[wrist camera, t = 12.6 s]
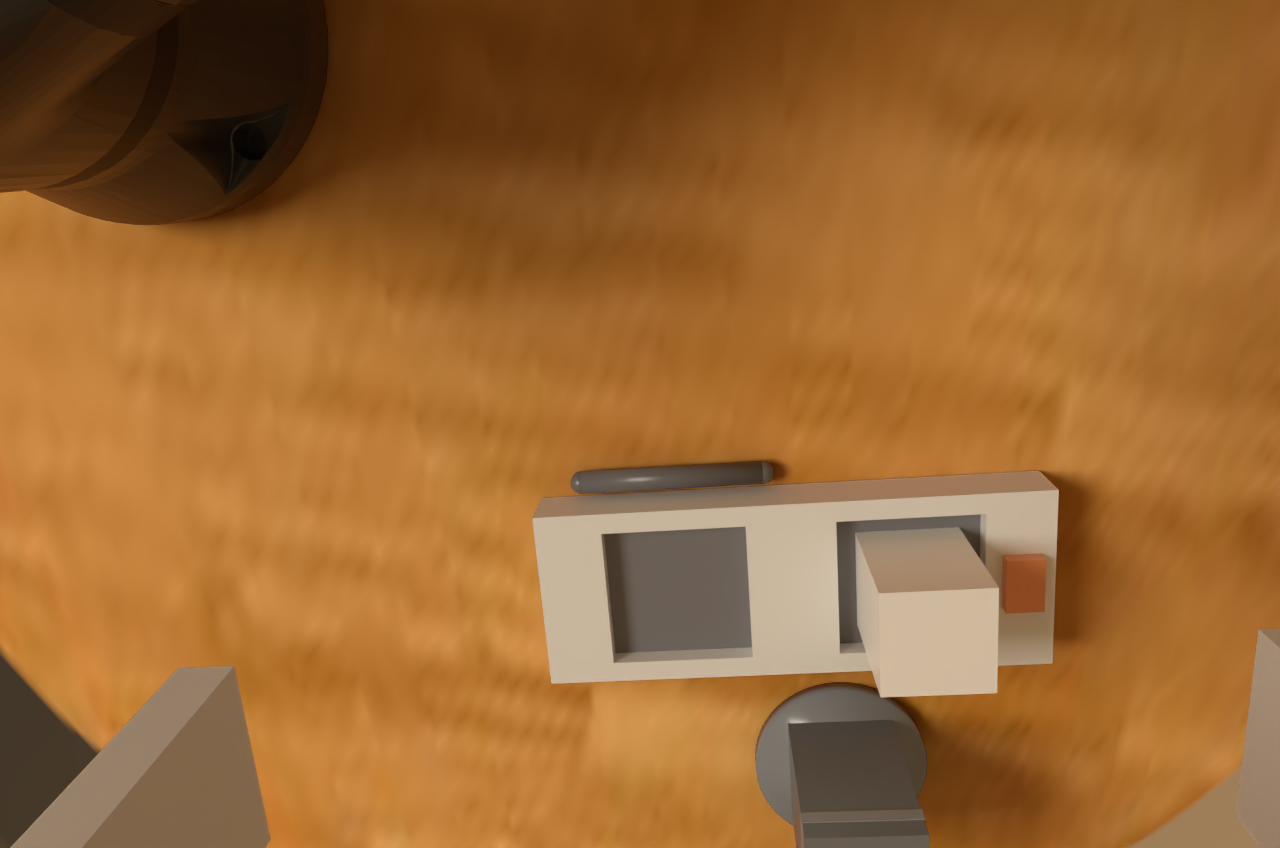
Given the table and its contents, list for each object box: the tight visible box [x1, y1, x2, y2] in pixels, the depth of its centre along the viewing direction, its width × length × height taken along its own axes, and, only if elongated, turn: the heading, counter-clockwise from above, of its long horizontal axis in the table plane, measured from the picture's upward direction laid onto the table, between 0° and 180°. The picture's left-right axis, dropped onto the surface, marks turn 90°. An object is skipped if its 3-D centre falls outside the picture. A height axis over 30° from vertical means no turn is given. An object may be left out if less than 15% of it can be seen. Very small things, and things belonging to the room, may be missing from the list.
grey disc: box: [755, 682, 927, 826], centre depth 47 cm, size 8×8×1 cm
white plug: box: [855, 527, 999, 697], centre depth 41 cm, size 4×4×6 cm
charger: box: [788, 720, 929, 848], centre depth 43 cm, size 5×5×8 cm
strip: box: [532, 461, 1059, 684], centre depth 44 cm, size 22×9×3 cm, turn 95°
